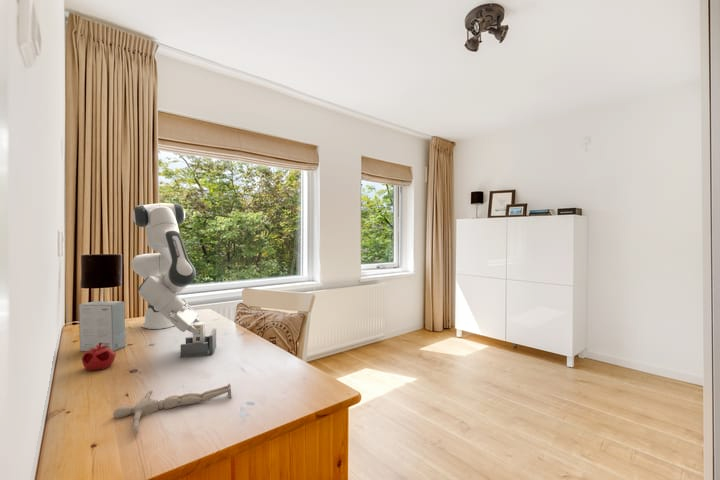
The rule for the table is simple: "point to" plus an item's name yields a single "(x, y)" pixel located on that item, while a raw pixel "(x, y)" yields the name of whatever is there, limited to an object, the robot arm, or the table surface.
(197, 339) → the ivory rectangular block
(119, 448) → the table surface
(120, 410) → the artist's mannequin
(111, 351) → the pomegranate
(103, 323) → the hard drive box
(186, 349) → the bracket
